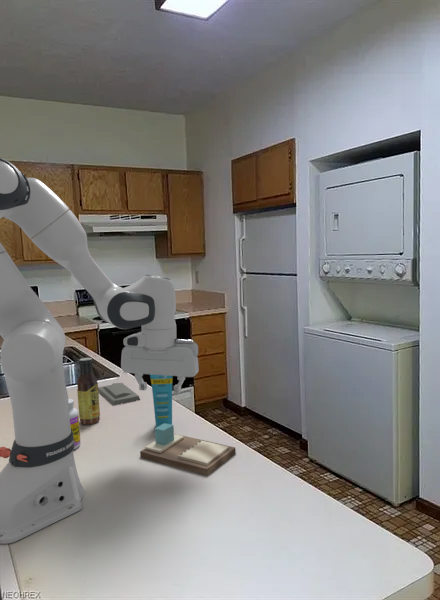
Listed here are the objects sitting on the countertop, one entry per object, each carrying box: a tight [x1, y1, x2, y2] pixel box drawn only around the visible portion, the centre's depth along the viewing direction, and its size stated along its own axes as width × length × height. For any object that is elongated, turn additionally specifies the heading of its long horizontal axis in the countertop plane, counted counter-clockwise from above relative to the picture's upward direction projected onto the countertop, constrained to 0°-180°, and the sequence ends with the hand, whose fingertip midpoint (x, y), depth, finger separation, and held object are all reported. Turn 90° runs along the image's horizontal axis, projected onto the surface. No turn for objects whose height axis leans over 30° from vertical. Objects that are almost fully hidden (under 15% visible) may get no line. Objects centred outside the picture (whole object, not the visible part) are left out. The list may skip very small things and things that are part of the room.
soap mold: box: [98, 382, 141, 406], centre depth 169 cm, size 10×20×4 cm, turn 29°
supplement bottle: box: [68, 398, 81, 451], centre depth 126 cm, size 7×7×13 cm
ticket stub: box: [144, 423, 185, 453], centre depth 122 cm, size 10×5×5 cm, turn 148°
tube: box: [149, 374, 174, 427], centre depth 138 cm, size 7×5×19 cm, turn 98°
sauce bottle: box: [76, 357, 101, 425], centre depth 143 cm, size 7×6×20 cm
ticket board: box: [139, 433, 237, 476], centre depth 118 cm, size 13×20×2 cm, turn 58°
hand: (160, 391), depth 120 cm, fingers open, 8 cm apart
